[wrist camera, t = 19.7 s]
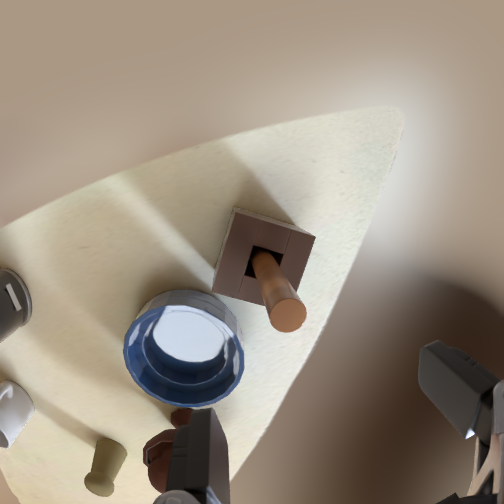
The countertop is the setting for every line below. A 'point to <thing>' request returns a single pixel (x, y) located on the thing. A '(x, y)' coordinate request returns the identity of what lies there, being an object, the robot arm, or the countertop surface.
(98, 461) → the cork
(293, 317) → the stirring stick
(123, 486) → the countertop surface
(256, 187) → the countertop surface
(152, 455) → the ice cream bowl
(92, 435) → the countertop surface
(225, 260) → the stand
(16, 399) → the mug
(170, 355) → the blue round bowl
